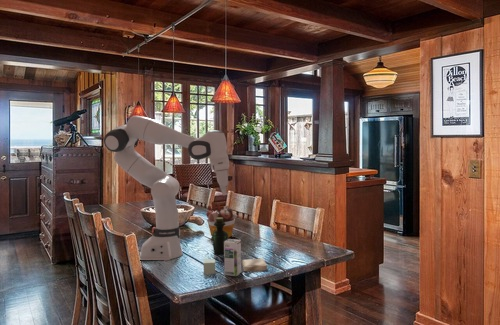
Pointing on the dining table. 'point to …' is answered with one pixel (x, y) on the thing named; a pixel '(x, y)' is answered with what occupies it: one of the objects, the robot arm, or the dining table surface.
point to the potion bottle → (219, 237)
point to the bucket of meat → (223, 213)
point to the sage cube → (209, 266)
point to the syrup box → (232, 257)
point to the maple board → (254, 264)
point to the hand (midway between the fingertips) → (223, 193)
